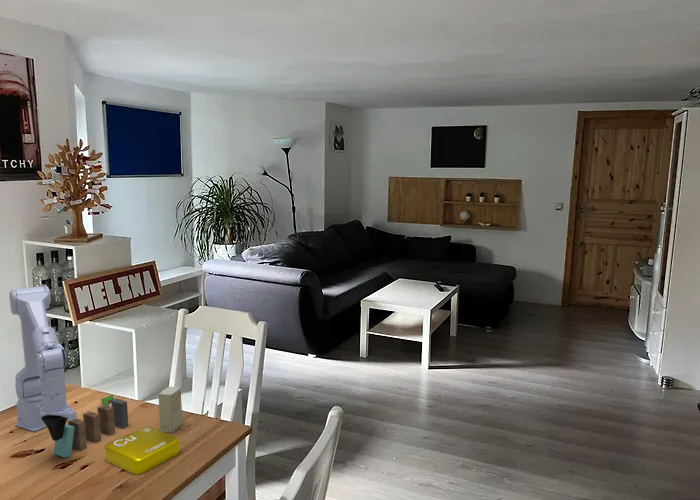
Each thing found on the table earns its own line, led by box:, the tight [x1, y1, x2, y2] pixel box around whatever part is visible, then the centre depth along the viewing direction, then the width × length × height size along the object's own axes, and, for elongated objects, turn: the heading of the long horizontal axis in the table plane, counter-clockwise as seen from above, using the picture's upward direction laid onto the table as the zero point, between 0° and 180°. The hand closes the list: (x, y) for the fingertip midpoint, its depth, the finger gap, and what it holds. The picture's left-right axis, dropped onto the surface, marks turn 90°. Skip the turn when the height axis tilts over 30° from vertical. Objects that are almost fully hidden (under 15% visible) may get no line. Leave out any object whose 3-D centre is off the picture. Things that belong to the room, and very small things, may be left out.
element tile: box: [104, 425, 181, 475], centre depth 156 cm, size 15×15×5 cm
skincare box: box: [157, 385, 183, 434], centre depth 171 cm, size 6×4×12 cm
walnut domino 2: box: [82, 410, 102, 444], centre depth 164 cm, size 4×2×8 cm, turn 64°
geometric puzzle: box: [100, 393, 115, 407], centre depth 179 cm, size 7×7×8 cm
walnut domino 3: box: [97, 404, 116, 436], centre depth 168 cm, size 4×2×8 cm, turn 64°
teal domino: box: [53, 423, 74, 458], centre depth 156 cm, size 4×2×8 cm, turn 64°
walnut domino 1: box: [67, 418, 87, 452], centre depth 159 cm, size 4×2×8 cm, turn 64°
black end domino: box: [111, 398, 129, 429], centre depth 173 cm, size 4×2×8 cm, turn 64°
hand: (57, 438), depth 154 cm, fingers closed
